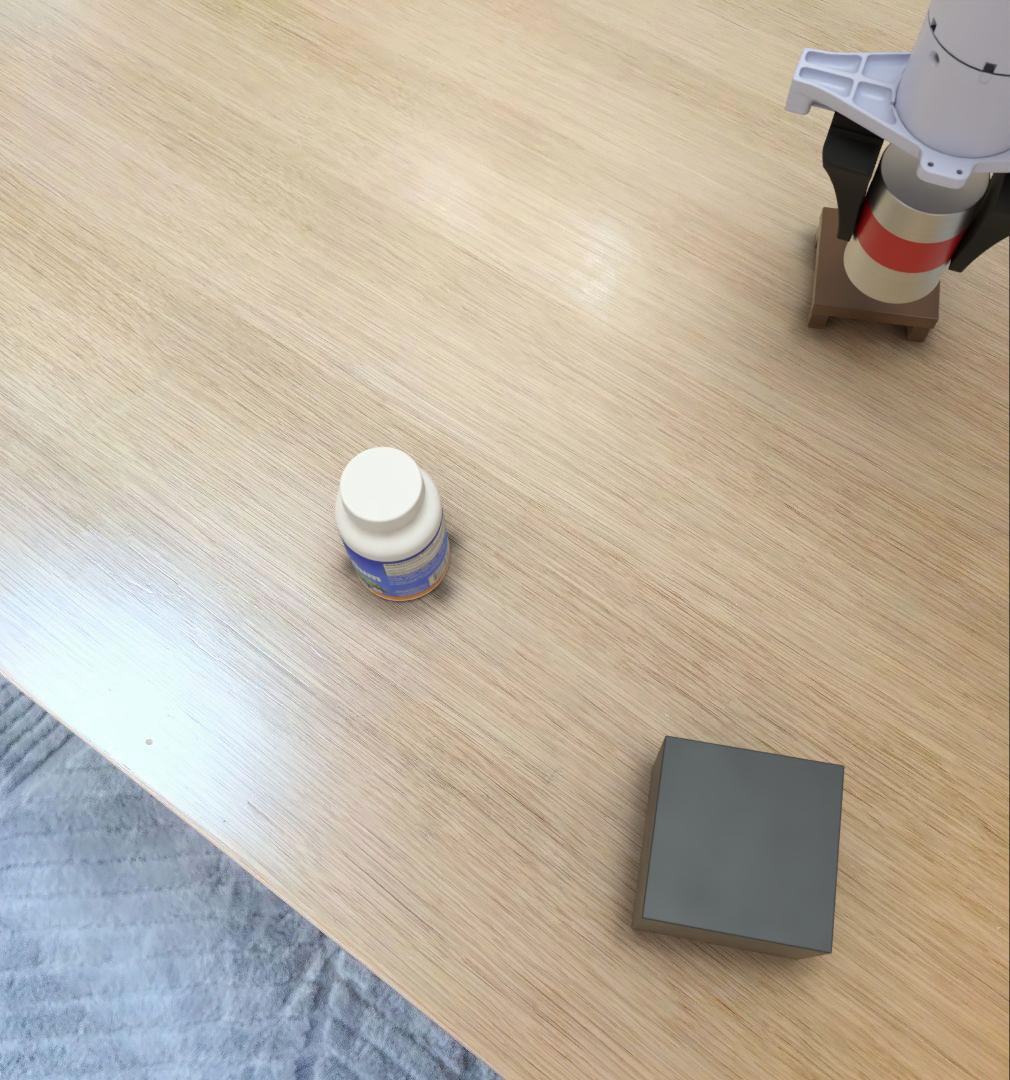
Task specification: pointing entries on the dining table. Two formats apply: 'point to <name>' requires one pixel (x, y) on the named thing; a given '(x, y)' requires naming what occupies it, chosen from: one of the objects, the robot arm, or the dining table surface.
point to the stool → (848, 301)
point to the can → (908, 229)
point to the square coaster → (741, 849)
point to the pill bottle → (392, 524)
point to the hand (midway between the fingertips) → (902, 240)
